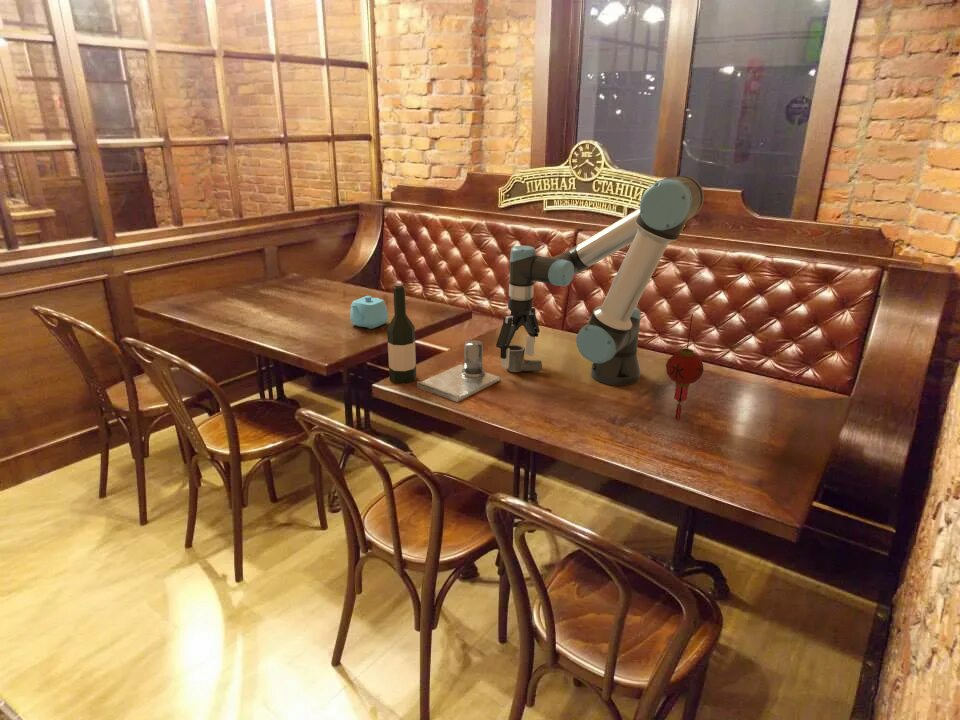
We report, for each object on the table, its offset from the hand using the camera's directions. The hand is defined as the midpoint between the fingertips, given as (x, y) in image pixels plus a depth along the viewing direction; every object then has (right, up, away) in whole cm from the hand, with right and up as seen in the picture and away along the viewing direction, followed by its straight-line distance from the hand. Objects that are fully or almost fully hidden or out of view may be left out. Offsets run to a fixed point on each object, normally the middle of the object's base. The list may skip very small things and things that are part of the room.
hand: (517, 361), depth 197 cm
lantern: (+42, -16, -30) cm, 54 cm away
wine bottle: (-36, -6, -5) cm, 37 cm away
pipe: (+1, -3, +1) cm, 4 cm away
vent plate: (-18, -7, -9) cm, 22 cm away
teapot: (-55, +13, +42) cm, 71 cm away
